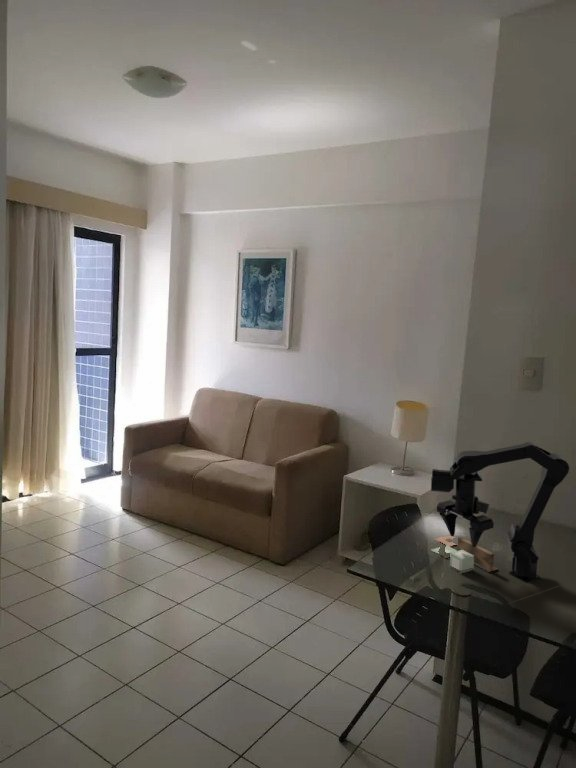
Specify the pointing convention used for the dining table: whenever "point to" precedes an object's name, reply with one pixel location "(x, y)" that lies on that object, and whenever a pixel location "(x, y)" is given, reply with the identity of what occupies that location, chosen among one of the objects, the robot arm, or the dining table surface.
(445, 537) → the terracotta pad
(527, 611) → the dining table surface
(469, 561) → the sage block
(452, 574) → the dining table surface
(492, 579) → the dining table surface
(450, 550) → the sage pad
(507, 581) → the dining table surface
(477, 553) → the walnut screen
